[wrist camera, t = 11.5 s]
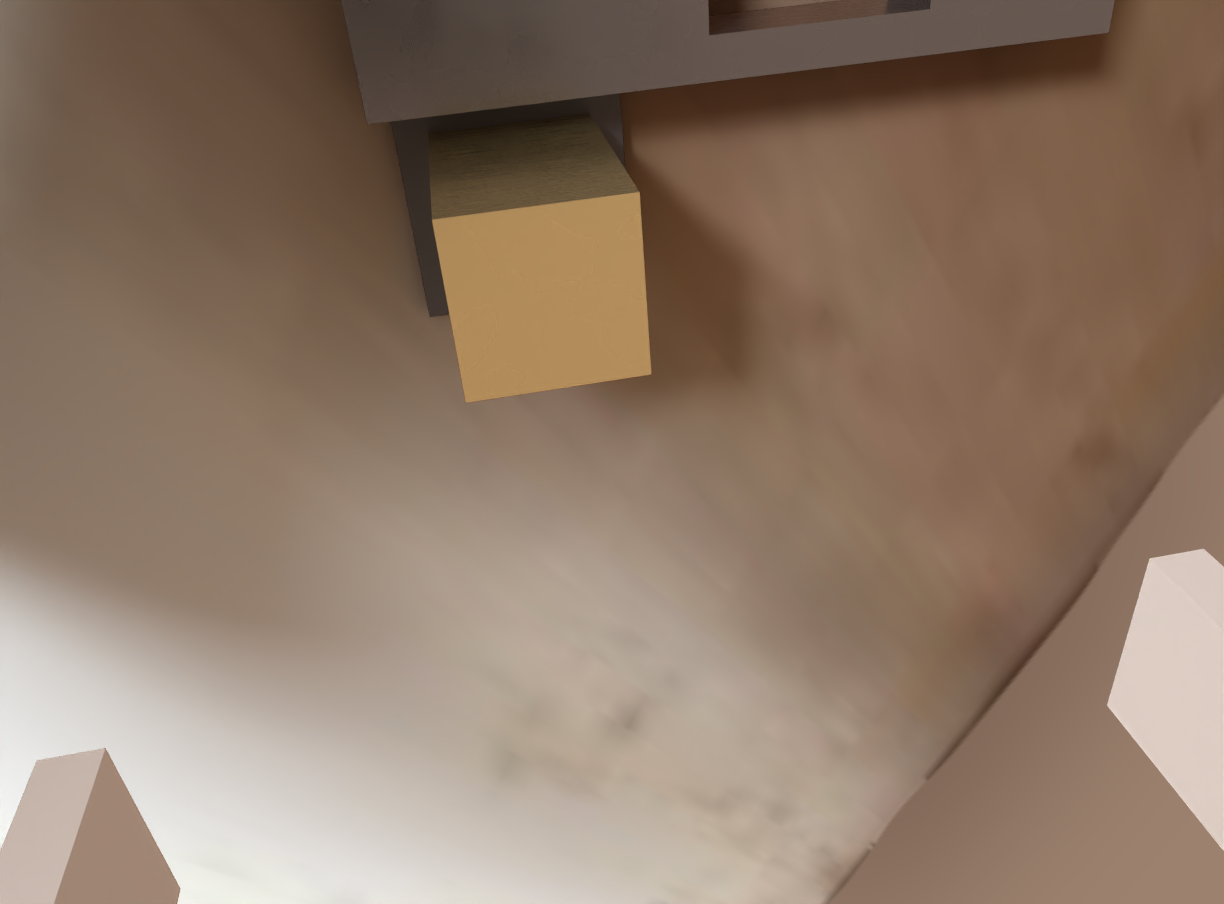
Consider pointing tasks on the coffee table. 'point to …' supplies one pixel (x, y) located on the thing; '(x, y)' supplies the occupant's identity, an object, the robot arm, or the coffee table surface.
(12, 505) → the coffee table surface
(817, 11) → the rack rail
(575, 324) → the yellow rectangular block
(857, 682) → the coffee table surface
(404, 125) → the rubber mat
